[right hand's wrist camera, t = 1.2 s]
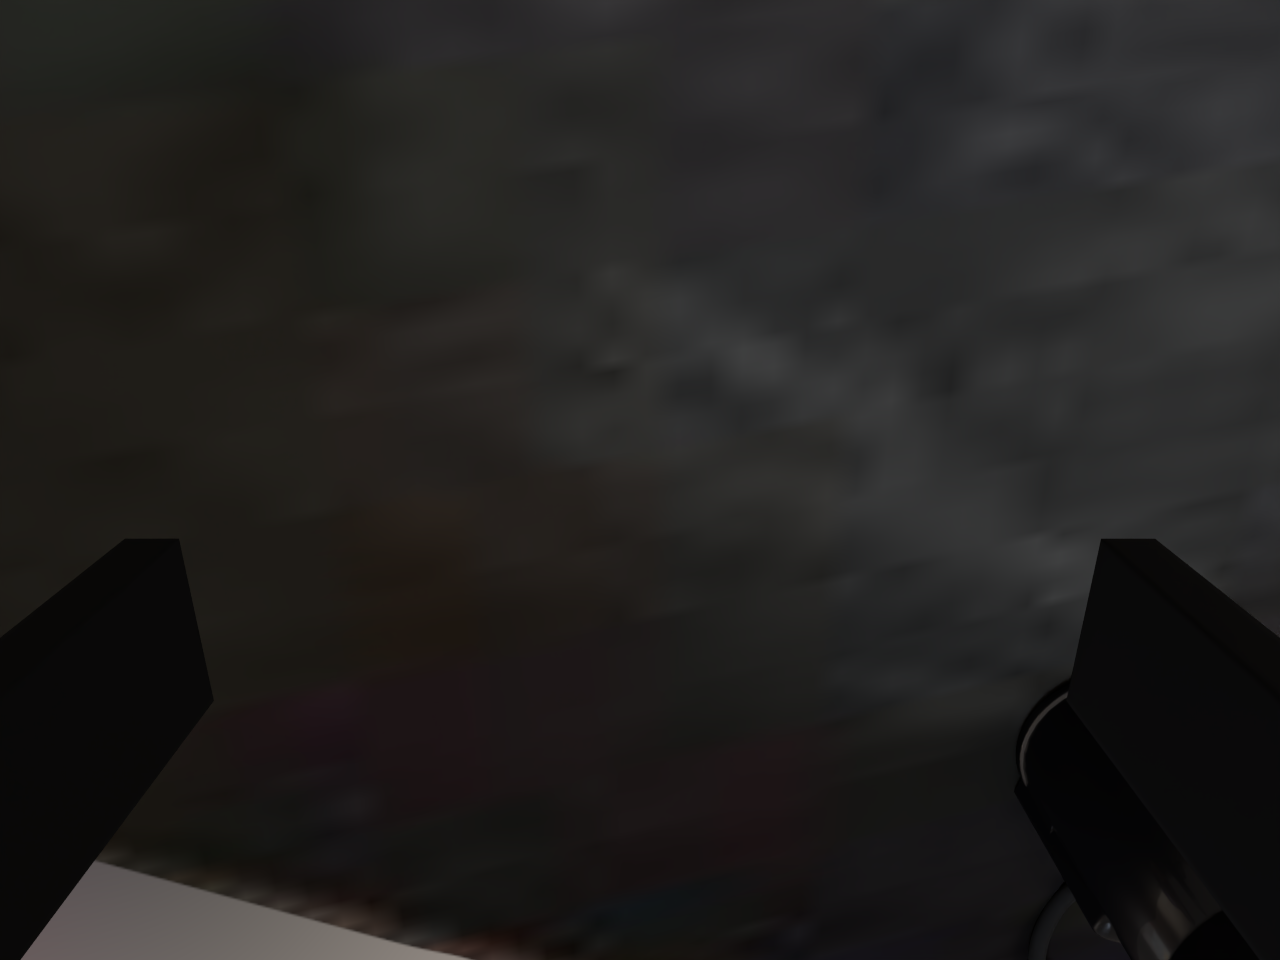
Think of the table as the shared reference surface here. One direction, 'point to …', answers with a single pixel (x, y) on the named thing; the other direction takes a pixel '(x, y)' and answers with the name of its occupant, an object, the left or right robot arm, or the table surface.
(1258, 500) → the table surface
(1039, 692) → the table surface
